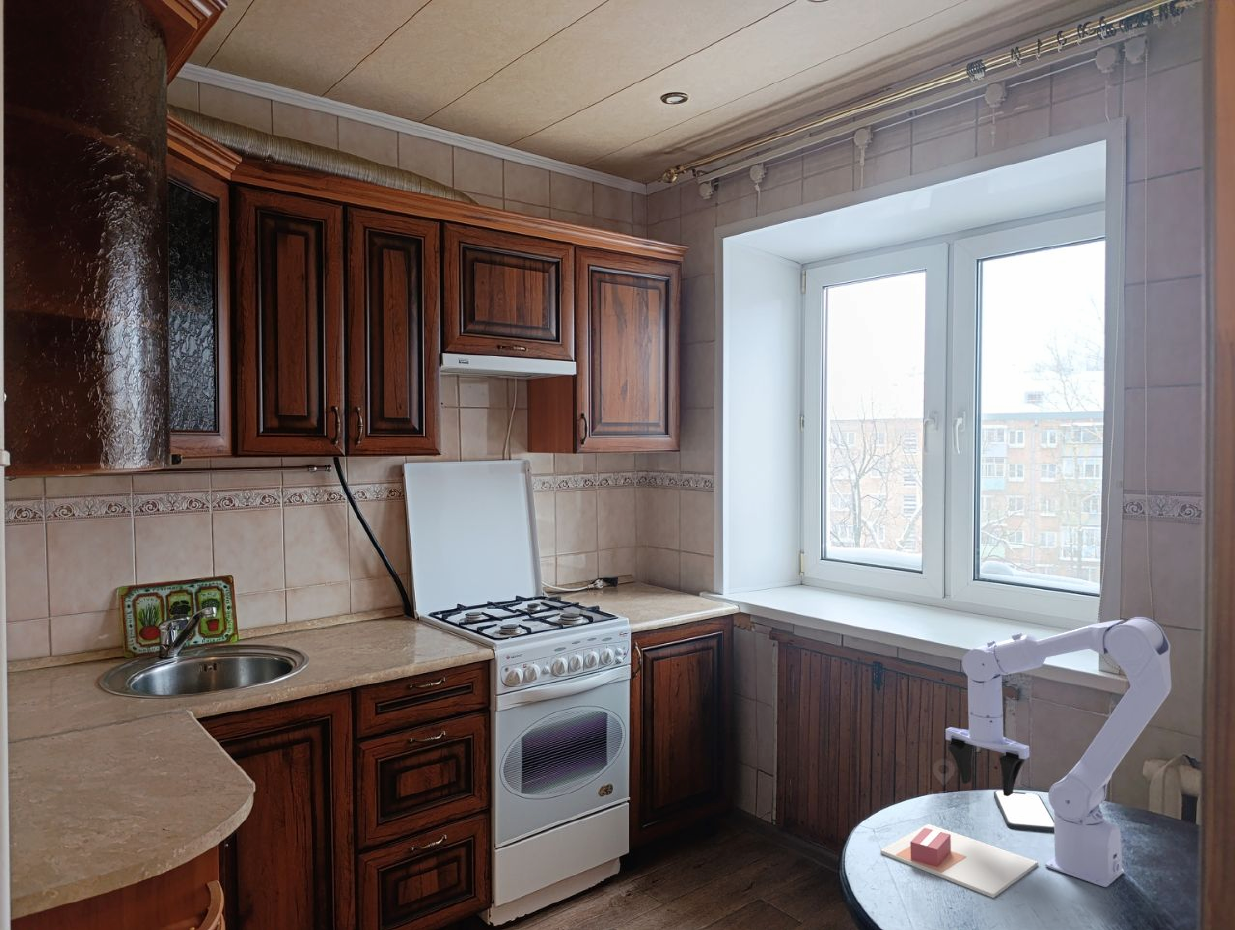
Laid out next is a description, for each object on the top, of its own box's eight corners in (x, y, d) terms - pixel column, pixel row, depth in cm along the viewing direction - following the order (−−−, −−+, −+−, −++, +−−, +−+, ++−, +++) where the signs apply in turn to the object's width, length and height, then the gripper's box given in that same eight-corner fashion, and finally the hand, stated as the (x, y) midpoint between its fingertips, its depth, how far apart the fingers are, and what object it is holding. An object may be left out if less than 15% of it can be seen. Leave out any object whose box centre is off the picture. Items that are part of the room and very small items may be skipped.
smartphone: (1059, 837, 149) (1039, 800, 165) (1059, 828, 149) (1039, 793, 165) (1007, 832, 152) (992, 797, 167) (1007, 823, 151) (992, 789, 167)
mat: (1038, 865, 137) (1037, 861, 137) (993, 897, 127) (993, 893, 127) (928, 826, 153) (928, 823, 153) (880, 853, 142) (880, 849, 142)
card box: (937, 867, 136) (937, 848, 136) (910, 859, 139) (910, 841, 139) (950, 851, 141) (950, 833, 141) (924, 844, 144) (924, 827, 144)
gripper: (1036, 717, 144) (1038, 793, 144) (958, 700, 155) (959, 771, 155) (1018, 725, 140) (1020, 804, 139) (939, 707, 151) (940, 780, 151)
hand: (987, 788), depth 147 cm, fingers open, 7 cm apart
